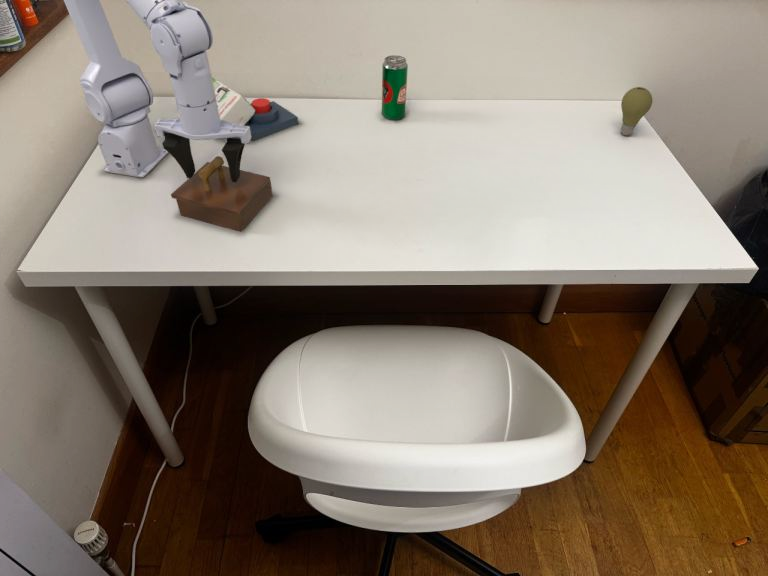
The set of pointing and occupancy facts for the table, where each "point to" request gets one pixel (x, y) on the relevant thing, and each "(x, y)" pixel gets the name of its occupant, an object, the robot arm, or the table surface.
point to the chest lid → (220, 188)
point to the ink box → (232, 105)
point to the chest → (227, 218)
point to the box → (270, 121)
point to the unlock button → (261, 105)
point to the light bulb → (634, 108)
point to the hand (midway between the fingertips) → (213, 176)
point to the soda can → (394, 87)
